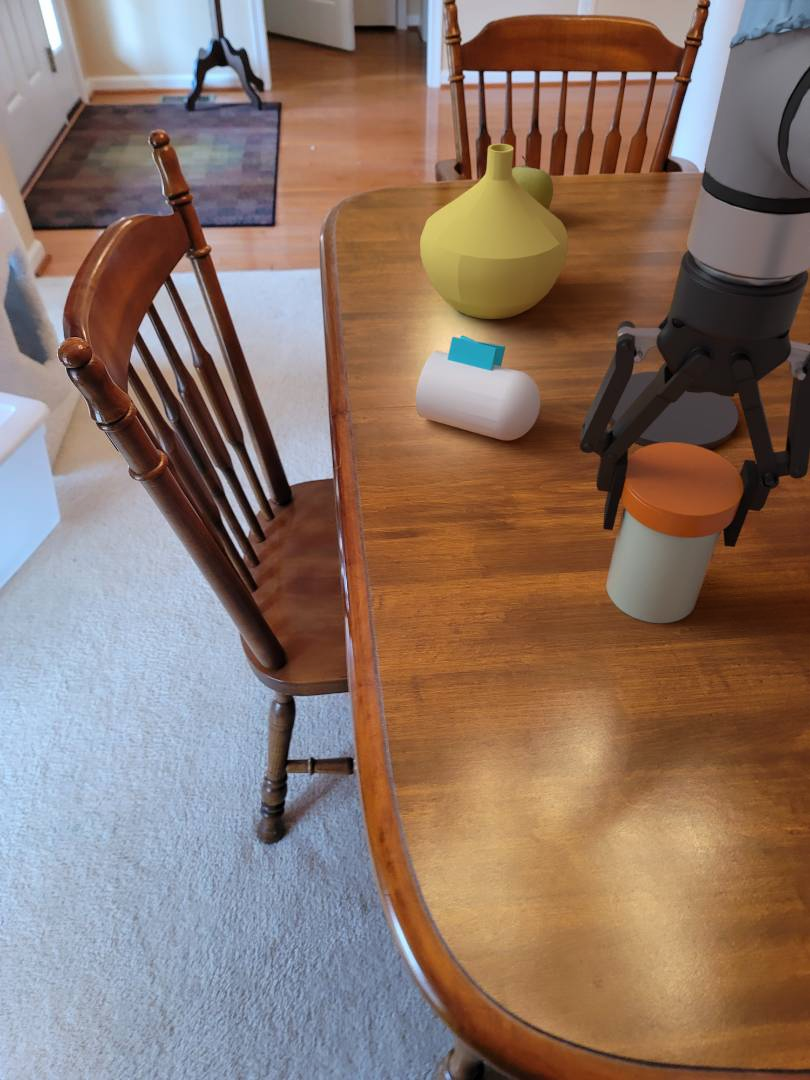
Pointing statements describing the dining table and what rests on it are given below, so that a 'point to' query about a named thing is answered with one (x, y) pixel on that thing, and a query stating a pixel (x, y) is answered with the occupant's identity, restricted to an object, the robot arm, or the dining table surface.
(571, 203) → the dining table surface
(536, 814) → the dining table surface
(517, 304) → the vase
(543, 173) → the apple
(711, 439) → the mat
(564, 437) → the dining table surface
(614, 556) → the jar
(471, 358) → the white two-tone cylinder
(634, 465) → the lid
